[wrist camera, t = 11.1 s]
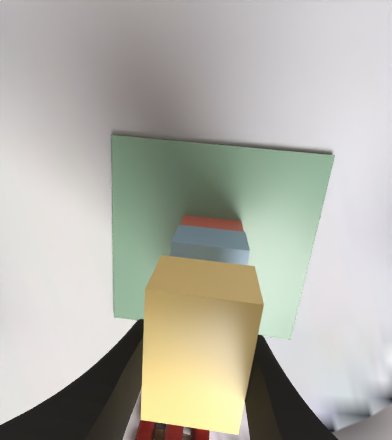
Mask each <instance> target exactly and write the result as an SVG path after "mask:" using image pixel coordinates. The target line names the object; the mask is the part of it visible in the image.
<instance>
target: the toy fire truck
mask: <svg viewBox="0 0 392 440" xmlns="http://www.w3.org/2000/svg"><path fill="white" fill-rule="evenodd" d="M183 428H184V426H178V425H171V424H166V427H165V430H163V429H159V428H156V422H152V421H145V420H140V424H139V428H138V432H137V436H136V440H153V439H155V440H209V430H204V429H197V428H191V434H190V435H187V434H184V433H183Z"/></svg>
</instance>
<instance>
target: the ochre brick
mask: <svg viewBox="0 0 392 440" xmlns="http://www.w3.org/2000/svg"><path fill="white" fill-rule="evenodd" d="M263 307H264V302H263V298H262V294H261V290H260V286H259V282H258V278H257V273H256V269H255V266H249V265H240V264H232V263H224V262H215V261H207V260H199V259H190V258H182V257H174V256H165V255H161V257H160V259H159V261H158V263H157V265H156V267H155V269H154V271H153V273H152V276H151V278H150V280H149V282H148V284H147V286H146V288H145V303H144V334H143V364H142V395H141V420H145V421H152V422H158V423H165V424H171V425H178V426H184V427H191V428H197V429H204V430H211V431H217V432H224V433H230V434H237V435H238V433H239V428H240V423H241V418H242V413H243V408H244V403H245V398H246V393H247V388H248V383H249V378H250V373H251V368H252V363H253V358H254V353H255V348H256V343H257V338H258V333H259V327H260V322H261V317H262V312H263Z"/></svg>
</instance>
